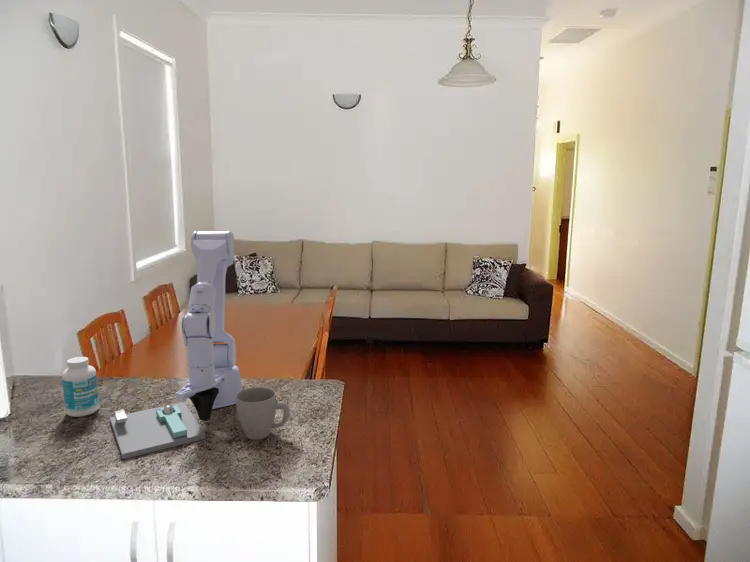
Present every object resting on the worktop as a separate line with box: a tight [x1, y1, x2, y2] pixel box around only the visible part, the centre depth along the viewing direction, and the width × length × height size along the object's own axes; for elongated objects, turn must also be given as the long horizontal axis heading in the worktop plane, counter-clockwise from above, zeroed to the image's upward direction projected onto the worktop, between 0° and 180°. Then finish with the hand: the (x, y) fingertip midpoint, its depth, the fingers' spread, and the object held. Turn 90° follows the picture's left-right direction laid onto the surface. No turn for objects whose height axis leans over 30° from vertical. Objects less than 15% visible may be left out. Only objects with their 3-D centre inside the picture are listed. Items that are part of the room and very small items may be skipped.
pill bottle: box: [61, 356, 100, 418], centre depth 136 cm, size 8×7×14 cm
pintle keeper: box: [114, 404, 173, 424], centre depth 130 cm, size 12×5×4 cm, turn 122°
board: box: [109, 402, 206, 460], centre depth 128 cm, size 17×20×1 cm
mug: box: [235, 386, 291, 440], centre depth 125 cm, size 12×9×10 cm
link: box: [156, 405, 187, 438], centre depth 128 cm, size 14×5×1 cm, turn 32°
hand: (204, 419), depth 129 cm, fingers closed
